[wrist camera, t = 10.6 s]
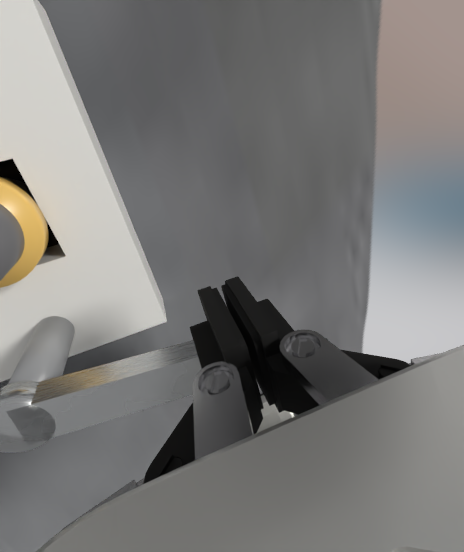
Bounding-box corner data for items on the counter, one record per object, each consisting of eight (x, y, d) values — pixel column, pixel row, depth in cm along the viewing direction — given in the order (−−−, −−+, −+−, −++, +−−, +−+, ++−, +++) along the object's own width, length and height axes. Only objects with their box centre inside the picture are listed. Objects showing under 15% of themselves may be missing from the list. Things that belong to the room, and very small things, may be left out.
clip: (272, 352, 16) (285, 373, 14) (8, 431, 13) (-7, 466, 12) (269, 311, 15) (283, 330, 13) (-21, 388, 12) (-41, 421, 11)
